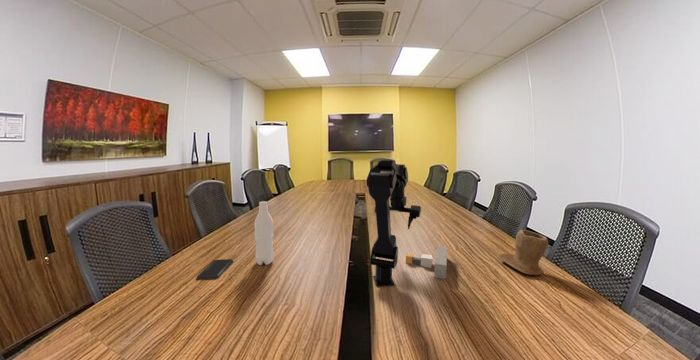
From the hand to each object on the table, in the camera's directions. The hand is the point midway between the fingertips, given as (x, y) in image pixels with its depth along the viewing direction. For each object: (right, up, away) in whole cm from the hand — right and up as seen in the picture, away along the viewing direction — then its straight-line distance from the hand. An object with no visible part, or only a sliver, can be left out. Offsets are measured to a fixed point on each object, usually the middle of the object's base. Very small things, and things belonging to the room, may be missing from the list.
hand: (397, 227), depth 112 cm
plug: (+7, -14, -7) cm, 17 cm away
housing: (+15, -14, -10) cm, 23 cm away
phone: (-72, -14, -13) cm, 74 cm away
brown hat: (+47, -14, -10) cm, 51 cm away
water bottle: (-55, -13, -7) cm, 57 cm away
